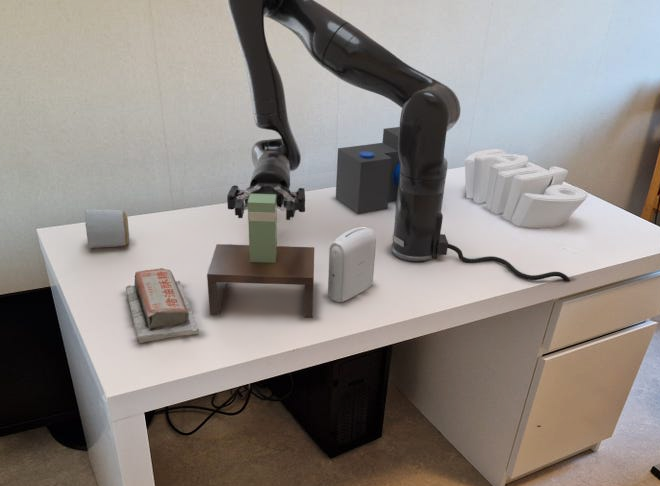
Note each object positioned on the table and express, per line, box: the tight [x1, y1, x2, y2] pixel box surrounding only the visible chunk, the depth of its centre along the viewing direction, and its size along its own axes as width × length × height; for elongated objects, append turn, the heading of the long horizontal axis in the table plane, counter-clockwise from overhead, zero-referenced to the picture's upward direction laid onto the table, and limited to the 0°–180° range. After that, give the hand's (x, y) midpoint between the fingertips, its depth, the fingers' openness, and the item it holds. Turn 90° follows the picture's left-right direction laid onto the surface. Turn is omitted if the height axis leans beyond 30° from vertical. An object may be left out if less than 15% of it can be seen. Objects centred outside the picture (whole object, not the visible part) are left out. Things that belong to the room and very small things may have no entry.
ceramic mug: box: [84, 209, 130, 249], centre depth 136 cm, size 11×8×8 cm
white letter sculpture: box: [464, 148, 589, 229], centre depth 162 cm, size 35×16×11 cm, turn 25°
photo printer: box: [327, 226, 377, 303], centre depth 122 cm, size 10×4×12 cm, turn 140°
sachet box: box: [247, 194, 278, 263], centre depth 115 cm, size 5×4×11 cm
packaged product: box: [125, 267, 200, 344], centre depth 115 cm, size 18×5×10 cm
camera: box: [335, 126, 400, 215], centre depth 159 cm, size 25×16×16 cm, turn 119°
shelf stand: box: [206, 243, 315, 319], centre depth 119 cm, size 18×12×8 cm, turn 91°
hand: (264, 214), depth 117 cm, fingers open, 8 cm apart
